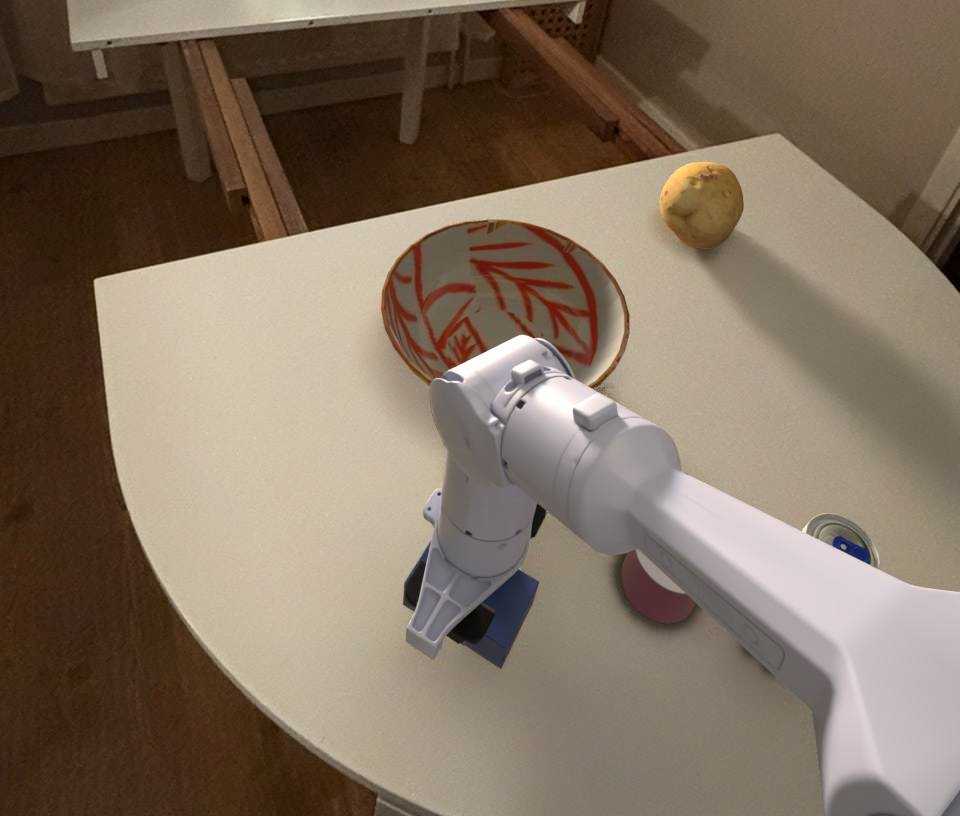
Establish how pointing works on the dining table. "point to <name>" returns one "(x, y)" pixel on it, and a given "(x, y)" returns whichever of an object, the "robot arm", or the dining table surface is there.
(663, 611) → the yogurt
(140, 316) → the dining table surface
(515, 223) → the bowl
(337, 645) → the dining table surface
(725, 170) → the potato
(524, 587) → the block
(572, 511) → the robot arm
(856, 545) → the beverage can
